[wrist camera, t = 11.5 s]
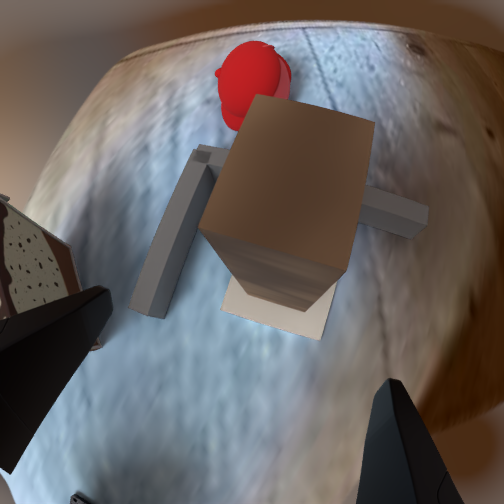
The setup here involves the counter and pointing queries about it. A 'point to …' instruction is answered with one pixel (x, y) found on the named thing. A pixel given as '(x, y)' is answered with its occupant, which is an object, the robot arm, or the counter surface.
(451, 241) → the counter surface
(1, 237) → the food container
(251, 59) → the cap
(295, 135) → the walnut block
